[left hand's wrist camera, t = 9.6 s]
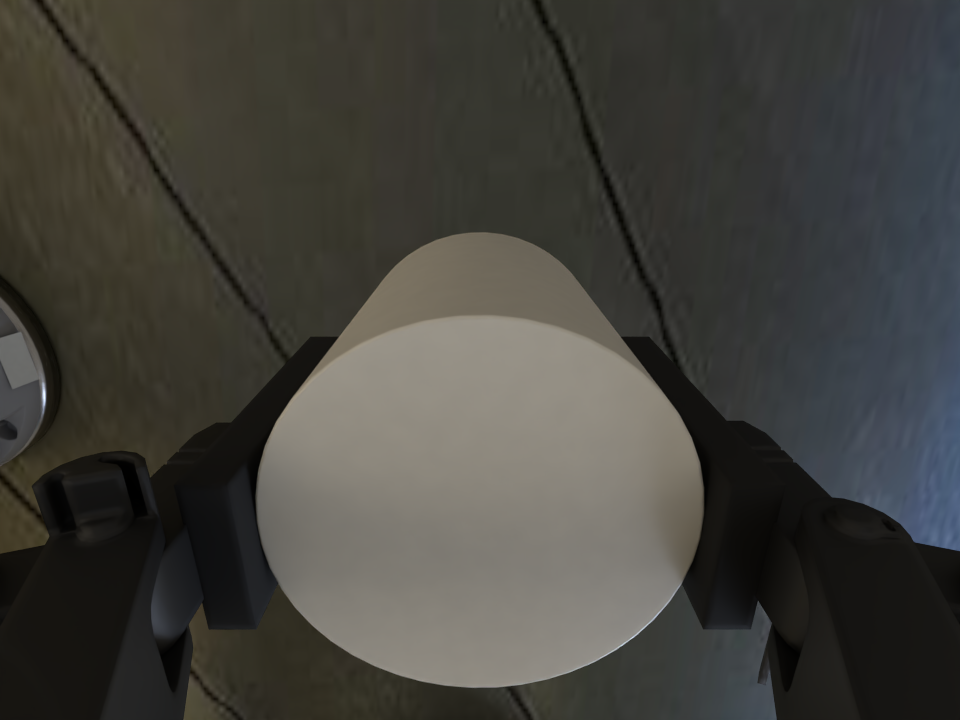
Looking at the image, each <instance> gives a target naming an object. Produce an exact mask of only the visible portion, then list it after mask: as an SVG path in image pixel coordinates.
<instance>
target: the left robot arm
mask: <svg viewBox="0 0 960 720" xmlns="http://www.w3.org/2000/svg"><path fill="white" fill-rule="evenodd" d="M338 338H339V337H310V338H309V339H308V340H307V341H306V342H305V343H304V345H303V346H302V347H301V348H300V349H299V350H298V351H297V352H296V353H295V354H294V355H293V356H292V358H291V359H290V360H289V361H288V362H287V363H286V364H285V365H284V366H283V367H282V368H281V369H280V371H279V372H278V373H277V374H276V375H275V376H274V377H273V378H272V379H271V380H270V381H269V382H268V383H267V385H266V386H265V387H264V388H263V389H262V390H261V391H260V392H259V393H258V394H257V395H256V396H255V398H254V399H253V400H252V401H251V402H250V403H249V404H248V405H247V406H246V407H245V408H244V409H243V411H242V412H241V413H240V414H239V415H238V416H237V417H236V418H235V419H234V420H233V421H232V422H231V423H215V424H213V425H212V426H210V427H208V428H206V429H204V430H202V431H201V432H199V433H197V434H195V435H194V436H193V437H192V438H191V439H189V440H188V441H187V442H186V443H185V444H184V445H183V446H182V447H181V448H180V449H179V452H176V453H175V454H174V455H173V456H172V457H171V458H170V459H169V460H168V461H167V465H163V466H162V467H161V468H160V469H159V470H158V471H157V472H156V473H155V474H154V475H153V476H152V477H151V478H150V476H149V473H148V469H147V465H146V461H145V458H144V457H142V456H141V455H139V454H137V453H134V452H126V451H114V452H102V453H98V454H94V455H89V456H85V457H81V458H78V459H76V460H73V461H71V462H68V463H65V464H63V465H60V466H58V467H57V468H55V469H53V470H51V471H50V472H48V473H46V474H44V475H43V476H42V477H41V478H40V479H39V480H37V481H36V482H35V483H34V484H33V485H32V488H33V491H34V494H35V496H36V499H37V502H38V505H39V508H40V510H41V513H42V516H43V519H44V522H45V524H46V527H47V530H48V533H49V536H50V537H49V539H48V541H47V543H46V544H45V545H43V546H38V547H33V548H28V549H23V550H17V551H12V552H7V553H2V554H0V720H183V718H184V711H185V703H186V696H187V689H188V682H189V674H190V667H191V660H192V653H193V643H192V636H191V633H190V629H189V625H188V624H189V623H190V621H191V619H192V618H193V616H194V614H195V613H196V611H197V610H198V608H199V606H200V605H201V603H203V607H204V611H205V616H206V620H207V624H208V628H209V629H257V627H258V624H259V622H260V620H261V618H262V616H263V614H264V612H265V610H266V607H267V605H268V603H269V601H270V599H271V597H272V595H273V593H274V590H275V588H276V586H277V584H278V582H277V580H276V578H275V576H274V574H273V573H272V571H271V569H270V567H269V564H268V561H267V559H266V556H265V553H264V551H263V548H262V545H261V540H260V536H259V531H258V526H257V519H256V500H255V494H256V485H257V476H258V469H259V466H260V462H261V458H262V455H263V451H264V448H265V445H266V443H267V440H268V438H269V436H270V434H271V432H272V430H273V427H274V425H275V423H276V421H277V420H278V418H279V417H280V415H281V414H282V412H283V411H284V409H285V408H286V406H287V405H288V403H289V402H290V400H291V399H292V397H293V396H294V395H295V394H296V392H297V391H298V390H299V388H300V387H301V386H302V384H303V383H304V382H305V381H306V379H307V378H308V377H309V375H310V374H311V373H312V372H313V370H314V369H315V368H316V366H317V365H318V364H319V362H320V361H321V360H322V359H323V357H324V356H325V355H326V353H327V352H328V351H329V349H330V348H331V347H332V346H333V344H334V343H335V342H336V340H337V339H338ZM621 338H622V340H623V341H624V342H625V344H626V345H627V346H628V347H629V349H630V350H631V351H632V353H633V354H634V355H635V357H636V358H637V359H638V360H639V362H640V363H641V364H642V366H643V367H644V368H645V370H646V371H647V372H648V373H649V375H650V376H651V377H652V379H653V380H654V381H655V383H656V384H657V385H658V386H659V388H660V389H661V390H662V392H663V393H664V394H665V396H666V397H667V398H668V400H669V401H670V402H671V404H672V405H673V406H674V408H675V409H676V410H677V412H678V413H679V415H680V417H681V418H682V420H683V422H684V424H685V426H686V428H687V430H688V432H689V434H690V436H691V437H692V440H693V443H694V446H695V449H696V452H697V455H698V458H699V461H700V466H701V472H702V478H703V484H704V518H703V524H702V530H701V537H700V540H699V544H698V547H697V550H696V553H695V556H694V559H693V562H692V564H691V566H690V568H689V570H688V572H687V574H686V576H685V578H684V580H683V582H682V585H683V587H684V589H685V591H686V593H687V595H688V598H689V600H690V602H691V604H692V606H693V608H694V610H695V612H696V615H697V617H698V619H699V621H700V623H701V625H702V627H703V629H751V626H752V622H753V618H754V614H755V610H756V606H757V602H758V601H759V603H760V604H761V606H762V607H763V609H764V611H765V612H766V614H767V615H768V617H769V619H770V620H771V622H772V625H771V629H770V633H769V636H768V640H767V644H766V648H765V652H764V656H763V659H762V663H761V667H760V671H759V677H758V683H759V684H763V685H766V682H767V678H768V674H769V673H771V680H772V687H773V695H774V702H775V709H776V716H777V720H960V551H956V550H951V549H945V548H940V547H935V546H930V545H925V544H920V543H915V542H914V541H913V540H912V538H911V536H910V535H909V534H908V533H907V531H906V530H905V529H904V528H903V527H902V526H901V524H899V523H898V522H896V521H895V520H893V519H892V518H890V517H889V516H887V515H886V514H885V513H883V512H881V511H878V510H876V509H874V508H871V507H869V506H867V505H865V504H862V503H858V502H854V501H851V500H847V499H842V498H832V497H831V496H830V495H829V494H828V493H827V492H826V491H825V490H824V489H823V488H822V487H821V486H820V485H819V484H818V483H817V482H816V481H814V480H813V479H812V478H811V477H810V476H809V475H808V474H807V473H806V472H805V471H804V470H803V469H802V468H801V467H800V466H799V465H798V464H797V463H793V459H792V458H791V457H790V456H789V455H788V454H787V453H786V452H785V451H784V450H781V447H780V446H779V445H778V444H777V443H776V442H775V441H773V440H772V439H771V438H770V437H769V436H768V435H767V434H766V433H765V432H763V431H761V430H759V429H757V428H756V427H754V426H752V425H750V424H748V423H746V422H744V421H726V420H725V419H724V417H723V416H722V415H721V414H720V413H719V412H718V411H717V410H716V409H715V408H714V407H713V406H712V404H711V403H710V402H709V401H708V400H707V399H706V398H705V397H704V396H703V395H702V394H701V393H700V391H699V390H698V389H697V388H696V387H695V386H694V385H693V384H692V383H691V382H690V381H689V380H688V378H687V377H686V376H685V375H684V374H683V373H682V372H681V371H680V370H679V369H678V368H677V367H676V366H675V364H674V363H673V362H672V361H671V360H670V359H669V358H668V357H667V356H666V355H665V354H664V353H663V351H662V350H661V349H660V348H659V347H658V346H657V345H656V344H655V343H654V342H653V341H652V340H651V338H650V337H621Z"/></svg>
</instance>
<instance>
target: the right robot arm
mask: <svg viewBox="0 0 960 720" xmlns="http://www.w3.org/2000/svg"><path fill="white" fill-rule="evenodd" d="M59 395H60V380H59V372H58V367H57V363H56V358H55V356H54V353H53V350H52V347H51V345H50V342H49V340H48V338H47V336H46V334H45V332H44V330H43V328H42V327H41V325H40V323H39V322H38V320H37V319H36V317H35V316H34V314H33V313H32V312H31V310H30V309H29V308H28V306H27V305H26V304H25V303H24V301H23V300H22V299H21V298H20V297H19V296H18V295H17V294H16V293H15V291H14V290H12V289H11V288H10V287H9V286H8V285H7V284H6V283H5V282H4V281H3V280H2V279H1V278H0V466H1V465H3V464H5V463H7V462H8V461H10V460H12V459H13V458H15V457H16V456H18V455H19V454H21V453H22V452H24V451H25V450H27V449H29V448H30V447H31V446H33V445H34V444H35V443H36V442H37V441H38V440H39V439H40V438H41V437H42V436H43V435H44V434H45V433H46V431H47V430H48V428H49V427H50V425H51V423H52V421H53V419H54V417H55V414H56V411H57V407H58V403H59Z"/></svg>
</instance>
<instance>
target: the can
mask: <svg viewBox="0 0 960 720" xmlns="http://www.w3.org/2000/svg"><path fill="white" fill-rule="evenodd" d="M255 500H256V519H257V526H258V531H259V536H260V540H261V545H262V548H263V551H264V553H265V556H266V559H267V561H268V564H269V567H270V569H271V571H272V573H273V574H274V576H275V578H276V580H277V582H278V584H279V585H280V587H281V589H282V590H283V592H284V593H285V594H286V596H287V597H288V598H289V600H290V601H291V603H292V604H293V605H294V607H295V608H296V609H297V610H298V611H299V612H300V613H301V614H302V615H303V616H304V617H305V618H306V620H307V621H308V622H309V623H310V624H311V625H312V626H313V627H315V628H316V629H317V630H318V631H319V632H321V633H322V634H323V635H324V636H326V637H327V638H328V639H329V640H330V641H332V642H333V643H335V644H336V645H338V646H339V647H341V648H343V649H344V650H346V651H347V652H349V653H350V654H352V655H354V656H356V657H358V658H360V659H362V660H364V661H366V662H368V663H370V664H371V665H373V666H376V667H379V668H381V669H384V670H386V671H389V672H392V673H394V674H397V675H400V676H404V677H408V678H411V679H415V680H418V681H422V682H428V683H434V684H440V685H446V686H457V687H470V688H478V687H503V686H512V685H522V684H527V683H531V682H536V681H541V680H546V679H549V678H553V677H556V676H559V675H562V674H566V673H569V672H572V671H574V670H576V669H579V668H581V667H583V666H586V665H588V664H591V663H593V662H595V661H597V660H598V659H600V658H602V657H604V656H606V655H608V654H609V653H611V652H613V651H615V650H616V649H618V648H619V647H621V646H622V645H623V644H625V643H626V642H628V641H629V640H631V639H632V638H633V637H635V636H636V635H637V634H638V633H639V632H640V631H642V630H643V629H644V628H645V627H646V626H647V625H648V624H649V623H651V622H652V621H653V620H654V619H655V618H656V616H657V615H658V614H659V613H660V612H661V611H662V610H663V608H664V607H665V606H666V605H667V604H668V603H669V602H670V600H671V599H672V597H673V596H674V594H675V593H676V591H677V590H678V588H679V587H680V585H681V584H682V582H683V580H684V578H685V576H686V574H687V572H688V570H689V568H690V566H691V564H692V562H693V559H694V556H695V553H696V550H697V547H698V544H699V540H700V537H701V530H702V524H703V518H704V484H703V478H702V472H701V466H700V461H699V458H698V455H697V452H696V449H695V446H694V443H693V440H692V437H691V436H690V434H689V432H688V430H687V428H686V426H685V424H684V422H683V420H682V418H681V417H680V415H679V413H678V412H677V410H676V409H675V408H674V406H673V405H672V404H671V402H670V401H669V400H668V398H667V397H666V396H665V394H664V393H663V392H662V390H661V389H660V388H659V386H658V385H657V384H656V383H655V381H654V380H653V379H652V377H651V376H650V375H649V373H648V372H647V371H646V370H645V368H644V367H643V366H642V364H641V363H640V362H639V360H638V359H637V358H636V357H635V355H634V354H633V353H632V351H631V350H630V349H629V347H628V346H627V345H626V344H625V342H624V341H623V340H622V338H621V337H620V336H619V334H618V333H617V332H616V331H615V329H614V328H613V327H612V325H611V324H610V323H609V321H608V320H607V319H606V318H605V316H604V315H603V314H602V312H601V311H600V310H599V308H598V307H597V306H596V305H595V303H594V302H593V301H592V299H591V298H590V297H589V295H588V294H587V293H586V292H585V290H584V289H583V288H582V286H581V285H580V284H579V282H578V281H577V280H576V279H575V277H574V276H573V275H572V273H571V272H570V271H569V270H568V269H567V268H566V267H565V266H564V265H563V264H562V263H561V262H560V261H558V260H557V259H556V258H554V257H553V256H552V255H550V254H549V253H548V252H546V251H544V250H543V249H541V248H539V247H537V246H535V245H534V244H531V243H529V242H526V241H524V240H521V239H519V238H515V237H511V236H507V235H503V234H495V233H486V232H481V233H464V234H458V235H452V236H449V237H445V238H442V239H438V240H436V241H433V242H431V243H429V244H427V245H425V246H422V247H420V248H419V249H417V250H416V251H414V252H413V253H411V254H409V255H408V256H407V257H405V258H404V259H403V260H402V261H401V262H399V263H398V264H397V265H396V266H395V267H394V268H393V269H392V270H391V271H390V272H389V274H388V275H387V276H386V277H385V278H384V279H383V281H382V282H381V283H380V285H379V286H378V287H377V288H376V290H375V291H374V292H373V294H372V295H371V296H370V298H369V299H368V300H367V301H366V303H365V304H364V305H363V307H362V308H361V309H360V311H359V312H358V313H357V314H356V316H355V317H354V318H353V320H352V321H351V322H350V323H349V325H348V326H347V327H346V329H345V330H344V331H343V333H342V334H341V335H340V336H339V338H338V339H337V340H336V342H335V343H334V344H333V346H332V347H331V348H330V349H329V351H328V352H327V353H326V355H325V356H324V357H323V359H322V360H321V361H320V362H319V364H318V365H317V366H316V368H315V369H314V370H313V372H312V373H311V374H310V375H309V377H308V378H307V379H306V381H305V382H304V383H303V384H302V386H301V387H300V388H299V390H298V391H297V392H296V394H295V395H294V396H293V397H292V399H291V400H290V402H289V403H288V405H287V406H286V408H285V409H284V411H283V412H282V414H281V415H280V417H279V418H278V420H277V421H276V423H275V425H274V427H273V430H272V432H271V434H270V436H269V438H268V440H267V443H266V445H265V448H264V451H263V455H262V458H261V462H260V466H259V469H258V476H257V485H256V494H255Z"/></svg>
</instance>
